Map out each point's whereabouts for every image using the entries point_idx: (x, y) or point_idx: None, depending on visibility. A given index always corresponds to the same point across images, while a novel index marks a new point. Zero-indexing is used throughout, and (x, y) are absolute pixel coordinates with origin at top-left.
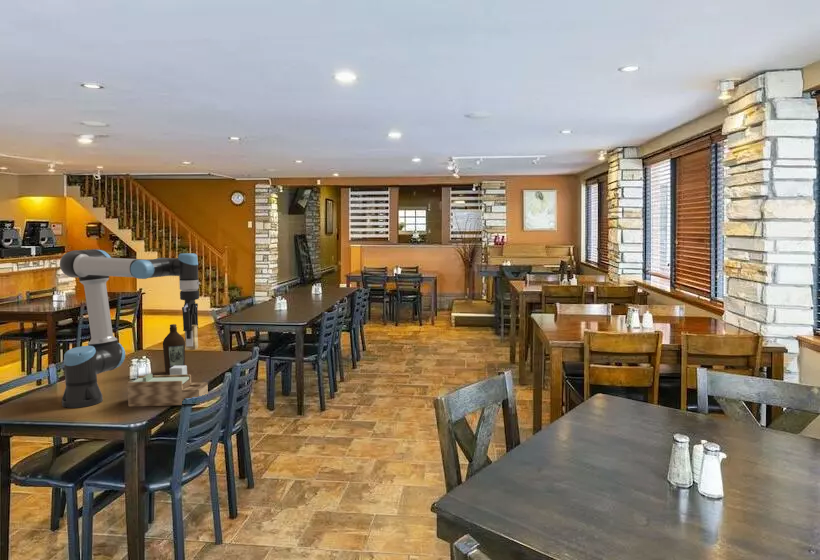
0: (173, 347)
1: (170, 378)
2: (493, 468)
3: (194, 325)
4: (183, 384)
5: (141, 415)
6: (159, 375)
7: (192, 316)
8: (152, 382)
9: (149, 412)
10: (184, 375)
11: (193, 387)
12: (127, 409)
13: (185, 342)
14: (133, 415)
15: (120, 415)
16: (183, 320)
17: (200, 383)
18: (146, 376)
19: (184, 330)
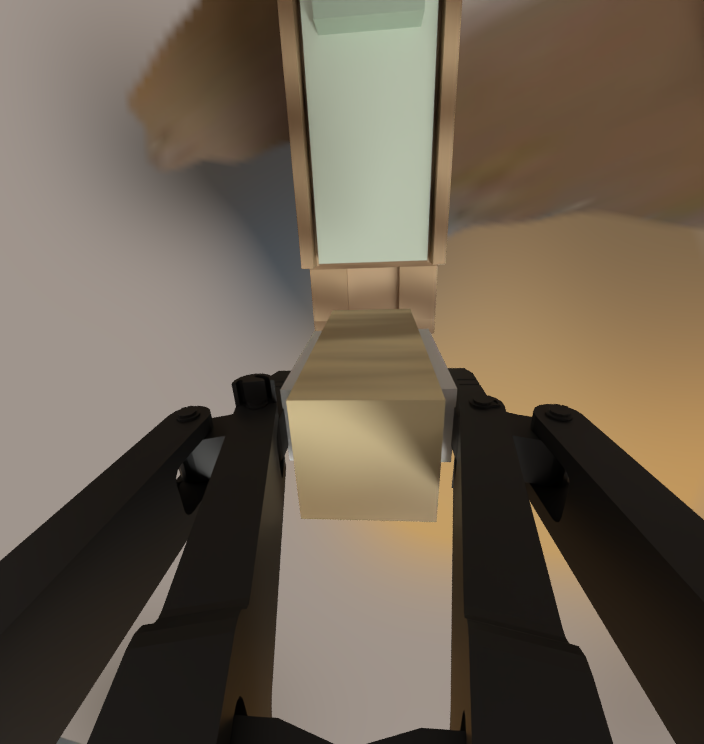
0: None
1: (401, 164)
2: (65, 741)
3: (364, 507)
4: (335, 264)
5: (186, 143)
6: (448, 62)
7: (455, 607)
8: (287, 99)
9: (224, 160)
10: (434, 233)
11: (381, 288)
12: (256, 18)
13: (323, 330)
14: (181, 104)
15: (173, 35)
16: (58, 519)
17: (416, 309)
18: (346, 4)
19: (241, 393)
